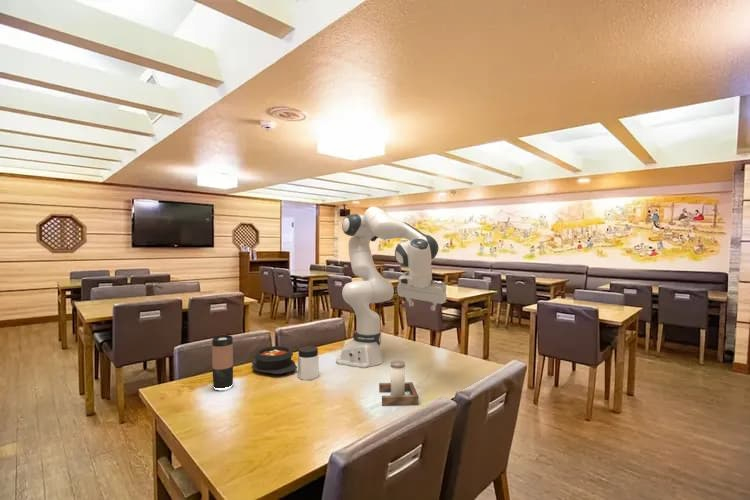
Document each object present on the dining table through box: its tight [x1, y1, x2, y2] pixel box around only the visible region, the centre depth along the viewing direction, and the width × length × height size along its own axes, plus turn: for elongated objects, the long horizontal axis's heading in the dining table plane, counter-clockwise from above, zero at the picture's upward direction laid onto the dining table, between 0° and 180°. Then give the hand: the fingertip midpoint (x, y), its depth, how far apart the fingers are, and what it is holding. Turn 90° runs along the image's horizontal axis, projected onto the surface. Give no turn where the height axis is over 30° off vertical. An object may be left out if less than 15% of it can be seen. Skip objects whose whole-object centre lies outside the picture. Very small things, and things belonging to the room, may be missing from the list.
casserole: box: [251, 345, 298, 375], centre depth 168 cm, size 25×19×8 cm
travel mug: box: [211, 334, 234, 388], centre depth 147 cm, size 8×8×20 cm
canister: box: [389, 360, 406, 395], centre depth 138 cm, size 5×5×13 cm
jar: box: [297, 345, 320, 381], centre depth 159 cm, size 9×8×12 cm
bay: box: [378, 381, 420, 407], centre depth 139 cm, size 13×13×3 cm
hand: (422, 307), depth 155 cm, fingers open, 8 cm apart
